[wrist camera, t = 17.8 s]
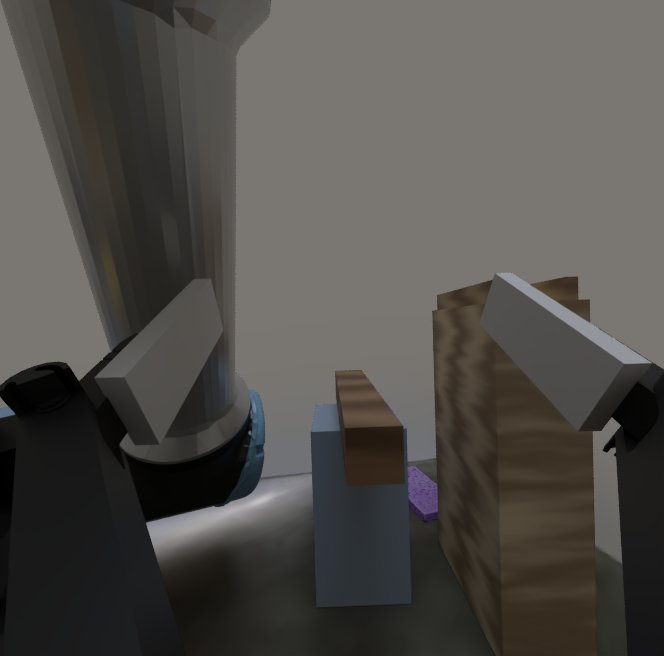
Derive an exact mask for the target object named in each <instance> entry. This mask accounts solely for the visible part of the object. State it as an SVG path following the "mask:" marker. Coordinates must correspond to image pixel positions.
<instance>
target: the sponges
mask: <svg viewBox="0 0 664 656" xmlns="http://www.w3.org/2000/svg"><path fill="white" fill-rule="evenodd" d="M408 497H409V506H410V508H411V509H412V510H413V511H414V512H415V513H416V514H417V515H418V516H419V517H420V518H421V519H422V520H423V521H426V522H430V521H433V520H435V519H438V495H437V484H436V483H434V482H433V481H431V480H430V479H429V478H428V477H427V476H426V475H425V474H424V473H422V472H421V471H420V470H419V469H418V468H416V467H415V466H412V467H408Z"/></svg>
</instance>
